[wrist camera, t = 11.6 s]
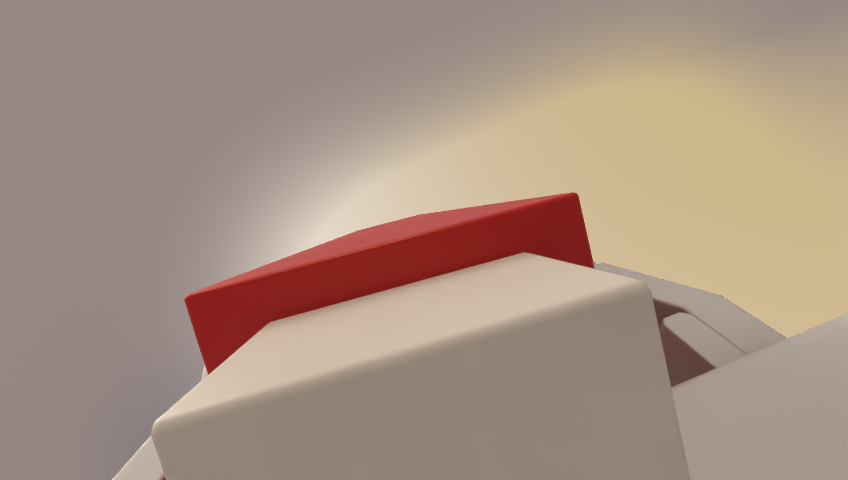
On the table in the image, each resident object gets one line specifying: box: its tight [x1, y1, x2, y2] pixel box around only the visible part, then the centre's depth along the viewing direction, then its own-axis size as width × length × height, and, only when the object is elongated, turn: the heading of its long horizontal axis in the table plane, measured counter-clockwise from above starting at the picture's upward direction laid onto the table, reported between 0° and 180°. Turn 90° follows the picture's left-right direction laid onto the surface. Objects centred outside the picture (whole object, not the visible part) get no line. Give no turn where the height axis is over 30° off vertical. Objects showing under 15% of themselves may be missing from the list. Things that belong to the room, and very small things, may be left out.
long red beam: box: [152, 193, 691, 480], centre depth 14 cm, size 24×4×4 cm, turn 6°
